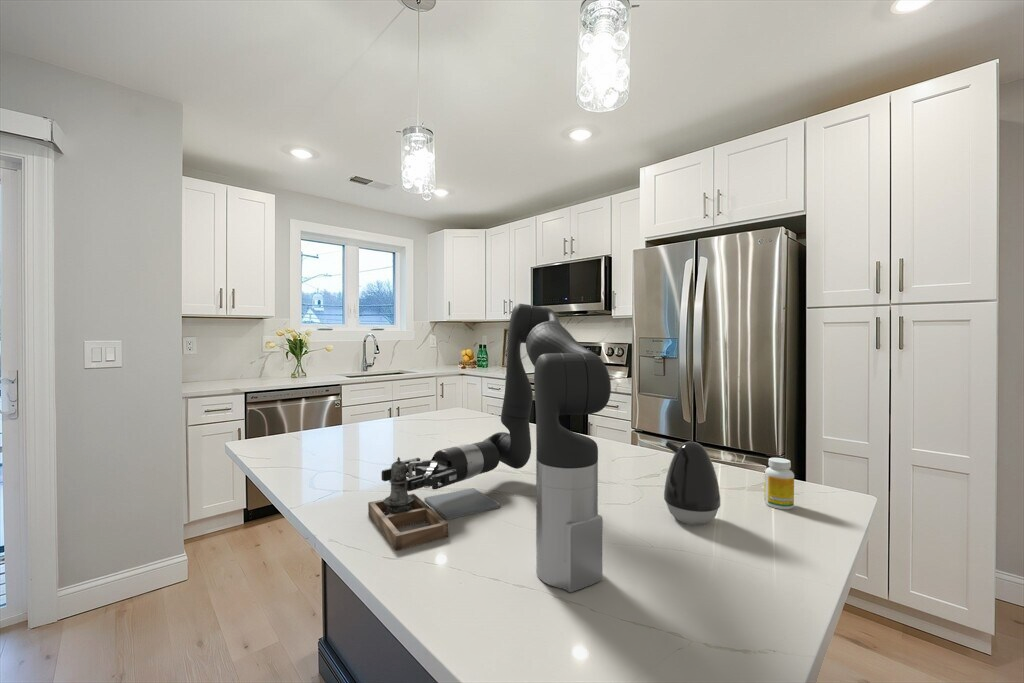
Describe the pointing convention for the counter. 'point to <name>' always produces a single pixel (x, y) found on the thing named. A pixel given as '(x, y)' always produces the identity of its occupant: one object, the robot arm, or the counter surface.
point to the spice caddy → (415, 516)
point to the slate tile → (461, 503)
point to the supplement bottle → (779, 484)
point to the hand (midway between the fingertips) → (393, 480)
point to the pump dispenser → (691, 485)
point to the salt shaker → (398, 490)
